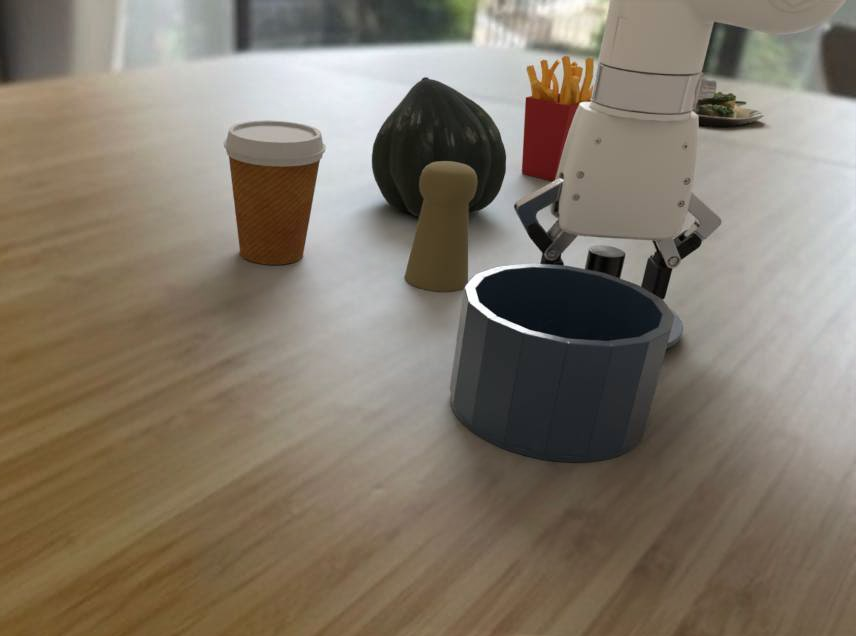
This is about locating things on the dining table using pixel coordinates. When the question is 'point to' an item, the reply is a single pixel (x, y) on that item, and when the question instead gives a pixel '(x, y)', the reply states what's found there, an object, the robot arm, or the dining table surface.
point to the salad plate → (724, 111)
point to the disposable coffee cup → (273, 187)
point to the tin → (558, 360)
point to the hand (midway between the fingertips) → (597, 301)
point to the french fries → (552, 115)
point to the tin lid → (612, 264)
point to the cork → (442, 228)
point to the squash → (436, 145)
